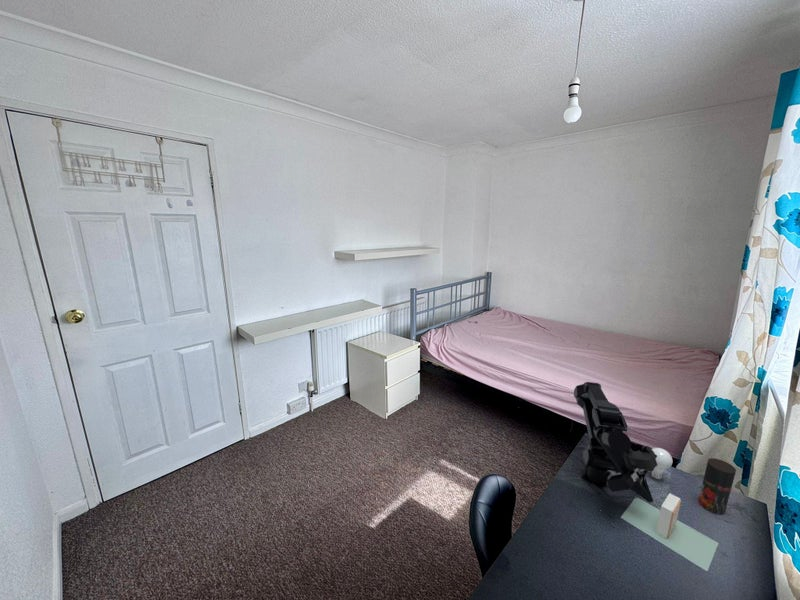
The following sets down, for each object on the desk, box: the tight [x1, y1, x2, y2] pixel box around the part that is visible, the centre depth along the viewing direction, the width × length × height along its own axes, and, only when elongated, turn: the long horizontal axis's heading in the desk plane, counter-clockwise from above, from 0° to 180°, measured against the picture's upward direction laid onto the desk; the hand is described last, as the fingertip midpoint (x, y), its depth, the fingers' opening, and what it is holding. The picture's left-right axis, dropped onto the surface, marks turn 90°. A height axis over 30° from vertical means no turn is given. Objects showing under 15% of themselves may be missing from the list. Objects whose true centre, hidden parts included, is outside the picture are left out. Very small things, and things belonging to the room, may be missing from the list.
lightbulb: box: [651, 447, 673, 480], centre depth 109 cm, size 6×6×11 cm
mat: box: [620, 496, 719, 572], centre depth 91 cm, size 19×12×1 cm, turn 37°
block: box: [656, 492, 682, 539], centre depth 90 cm, size 3×7×9 cm, turn 127°
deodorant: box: [697, 457, 737, 516], centre depth 97 cm, size 6×6×15 cm
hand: (651, 501), depth 93 cm, fingers closed
